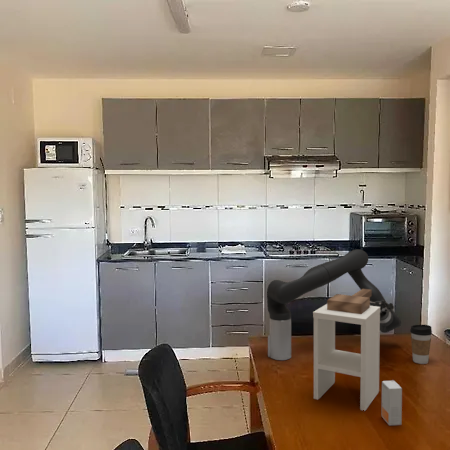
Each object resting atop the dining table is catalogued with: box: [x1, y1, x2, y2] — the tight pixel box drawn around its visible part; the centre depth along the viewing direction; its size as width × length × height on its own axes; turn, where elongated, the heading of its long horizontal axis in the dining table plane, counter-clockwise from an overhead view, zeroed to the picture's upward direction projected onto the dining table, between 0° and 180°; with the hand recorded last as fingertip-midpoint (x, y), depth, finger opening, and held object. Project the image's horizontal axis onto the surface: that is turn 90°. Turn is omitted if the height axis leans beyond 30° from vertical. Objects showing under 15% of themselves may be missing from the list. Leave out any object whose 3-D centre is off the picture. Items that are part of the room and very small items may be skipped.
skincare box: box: [381, 380, 403, 426], centre depth 154 cm, size 6×4×12 cm
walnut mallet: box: [326, 289, 372, 314], centre depth 179 cm, size 12×28×4 cm, turn 148°
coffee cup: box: [409, 324, 433, 365], centre depth 203 cm, size 8×8×15 cm
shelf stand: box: [312, 303, 381, 412], centre depth 172 cm, size 18×18×31 cm
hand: (371, 300), depth 196 cm, fingers open, 8 cm apart
